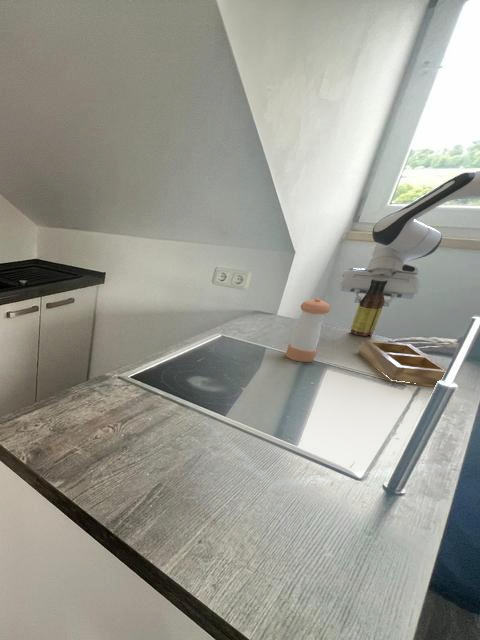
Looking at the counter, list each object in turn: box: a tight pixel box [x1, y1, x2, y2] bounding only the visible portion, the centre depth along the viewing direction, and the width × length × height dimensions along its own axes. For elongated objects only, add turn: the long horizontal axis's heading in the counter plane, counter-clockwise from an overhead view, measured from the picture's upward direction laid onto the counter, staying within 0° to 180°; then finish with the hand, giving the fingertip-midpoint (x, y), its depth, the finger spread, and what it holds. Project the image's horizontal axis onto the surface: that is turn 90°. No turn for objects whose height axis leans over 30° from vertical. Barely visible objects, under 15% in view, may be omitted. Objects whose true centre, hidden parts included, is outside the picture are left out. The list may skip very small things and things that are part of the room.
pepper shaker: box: [285, 297, 331, 363], centre depth 119 cm, size 7×7×19 cm
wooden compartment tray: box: [358, 339, 448, 388], centre depth 112 cm, size 12×22×5 cm, turn 159°
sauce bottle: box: [350, 278, 388, 337], centre depth 136 cm, size 7×6×20 cm
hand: (371, 303), depth 135 cm, fingers closed on sauce bottle, 6 cm apart
